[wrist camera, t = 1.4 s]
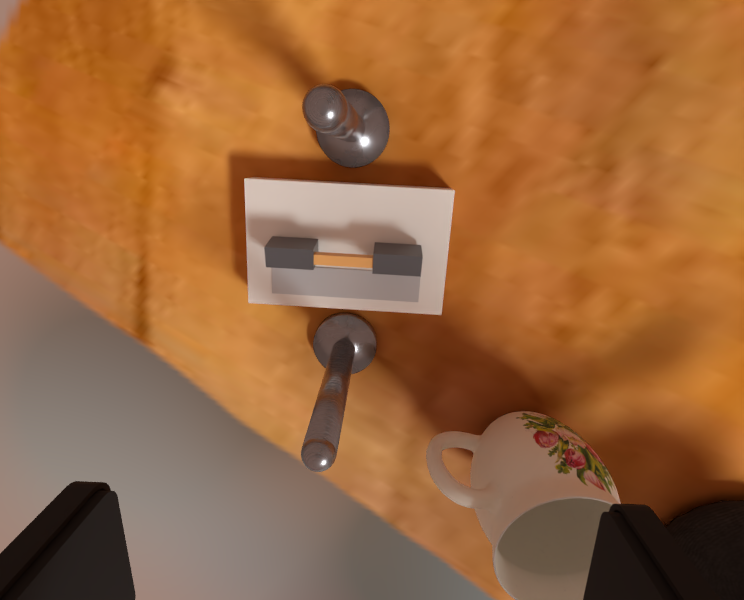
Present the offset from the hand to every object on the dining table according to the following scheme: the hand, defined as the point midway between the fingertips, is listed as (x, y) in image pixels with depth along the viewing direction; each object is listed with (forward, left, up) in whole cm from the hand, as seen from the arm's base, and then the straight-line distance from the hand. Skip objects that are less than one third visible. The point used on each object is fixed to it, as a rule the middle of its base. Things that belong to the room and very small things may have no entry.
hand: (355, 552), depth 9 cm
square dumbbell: (0, -3, -28) cm, 28 cm away
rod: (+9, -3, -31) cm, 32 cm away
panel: (0, -3, -31) cm, 31 cm away
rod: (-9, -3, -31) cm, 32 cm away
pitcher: (+18, +13, -31) cm, 38 cm away
